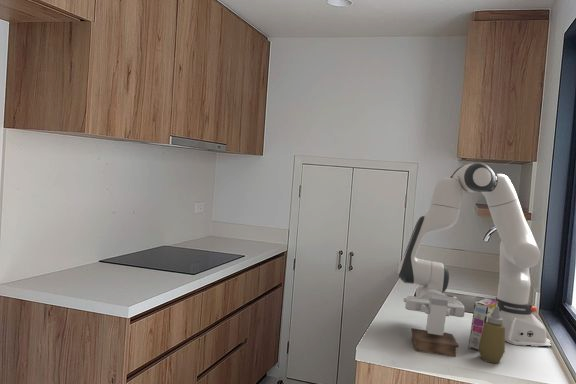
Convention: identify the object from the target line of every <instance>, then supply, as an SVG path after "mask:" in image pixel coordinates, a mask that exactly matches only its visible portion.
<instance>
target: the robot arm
mask: <svg viewBox="0 0 576 384" xmlns="http://www.w3.org/2000/svg"><path fill="white" fill-rule="evenodd" d="M468 193H469V194H476V193H481V194H482V195H483V197H484V199H485V201H486V205H487V207H488V210H489V214H490V216H491V219H492V222H493V225H494V227H495V230H496V231H497V234H498V236H499V238H500V240H501V241H500V244H499V281H498V287H497V296H496V297H495V300H494V301H498V306H497V307H499V312H500V317H501V318H503V324H502V325H503V326H504V327H505V342H507V343H510V344H511V345H516V346H526V345H531V346H530V347H538V346H551V344H550V343H551V342H552V341H551V340H550V339H549V338H547V330H546V329H547V328H546V327H545V325H544V324H543V323H542V322H541V321H540V320H539V319H538V318H537V317H536V316H535V315H534V314H533V313H537V312H538V308H537V307H536V306H534V305H532V304H531V303H529V299H530V292H531V284H532V283H531V277H530V276H531V275H530V273H531V272H530V268H533V267H535V266H537V265H538V264H539V262H540V260H541V250H540V248H539V247H538V244H537V241H536V240H535V237H534V235H533V233H532V230H531V229H530V225H529V224H528V222H527V219H526V217H525V215H524V212H523V209H522V206H521V203H520V200H519V198H518V194H517V191H516V189H515V187H514V185H513V183H512V182H511V179H510V178H509V176H507V175H505V174H503V173H496V172H494V171H493V169H492V168H491V167H490V166H488V165H487V164H485V163H482V162H477V163H475V162H474V163H468V164H465V165H462V166H460V167H458V168H457V169H456V170H455V171H454V172H453V174H452V175H451V176H450V177H444V178H443V177H442V178H441V179H438V181H437V182H436V184H435V186H434V189H433V192H432V196H431V199H430V205H429V208H428V210H427V212H426V213H425V214H424V215H421V216H420V217H419V218H418V220H417V221H416V223H415V226H414V228H413V231H412V233H411V236H410V239H409V241H408V243H407V247H406V249H405V252H404V254H403V255H402V259H401V261H400V262H399V265H398V268H397V275H398V276H397V277H399V279H400V280H401V282H403V283H404V284H410V285H411V284H412V285H417V288H416V290H415V296H414V295H407V296H406V298H404V297H403V302H404V304H405V306H404V307H405V308H404V309H405V310H408V311H413V312H421V313H425V314H426V315H428V314H430V308H429V299H430V295H436V296H443V297H446V298H447V300H448V305H447V310H446V317H449V316H451V317H457V318H464V316H465V310H466V308H465V306H464V304H463V303H462V302H461V301H460V300H458V297H457V296H455V295H450V294H446V293H445V291H446V290H447V289H448V287H449V281H450V273H449V269H448V268H447V266H446V265H445V264H444V263H443V262H439V261H434V260H427V259H422V258H418V257H417V253H418V251H419V249H420V246H421V243H422V242H423V241H422V240H423V238H424V237H425V236H426V235H428V234H430V233H433V232H441V231H446V230H449V229H451V228H452V227H454V226H455V225H456V224H457V222H458V219H459V217H460V212H461V207H462V201H463V198H464V197H465V195H466V194H468ZM550 341H551V342H550Z"/></svg>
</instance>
